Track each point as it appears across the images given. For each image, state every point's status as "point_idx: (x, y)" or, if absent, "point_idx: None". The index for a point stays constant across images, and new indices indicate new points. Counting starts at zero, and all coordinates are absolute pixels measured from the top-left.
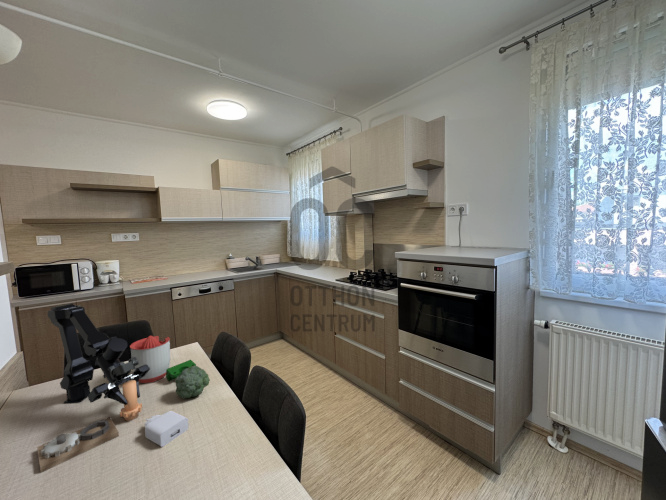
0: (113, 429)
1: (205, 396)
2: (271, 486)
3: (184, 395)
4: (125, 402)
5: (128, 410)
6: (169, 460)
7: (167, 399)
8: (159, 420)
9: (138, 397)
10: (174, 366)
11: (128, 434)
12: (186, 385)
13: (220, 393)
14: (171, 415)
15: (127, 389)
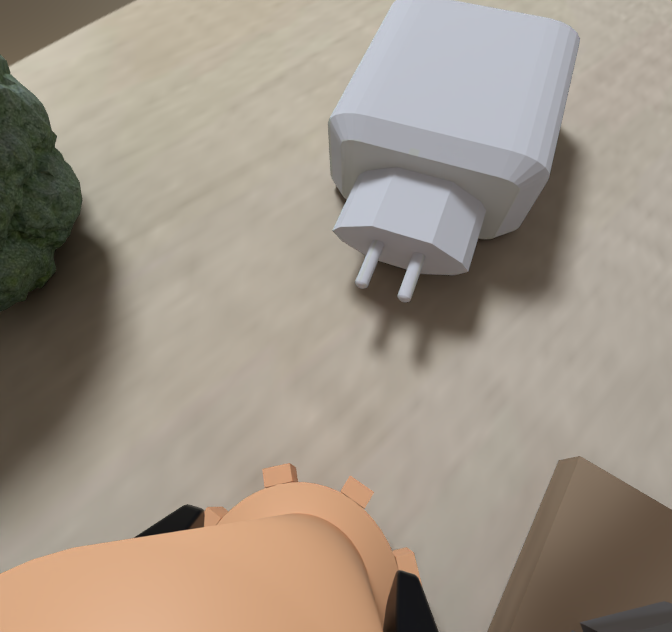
0: (572, 549)
1: None
2: None
3: (75, 191)
4: (425, 603)
5: (367, 568)
6: (594, 41)
7: (30, 411)
8: (473, 105)
9: (203, 526)
10: None
11: (516, 391)
12: (3, 90)
13: (36, 85)
14: (400, 71)
15: None
